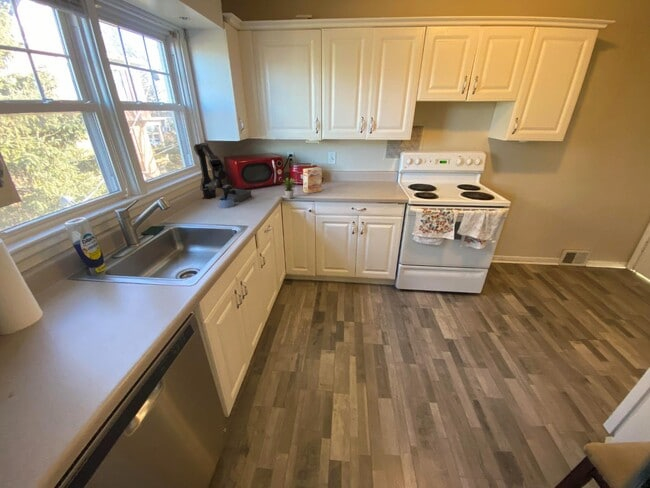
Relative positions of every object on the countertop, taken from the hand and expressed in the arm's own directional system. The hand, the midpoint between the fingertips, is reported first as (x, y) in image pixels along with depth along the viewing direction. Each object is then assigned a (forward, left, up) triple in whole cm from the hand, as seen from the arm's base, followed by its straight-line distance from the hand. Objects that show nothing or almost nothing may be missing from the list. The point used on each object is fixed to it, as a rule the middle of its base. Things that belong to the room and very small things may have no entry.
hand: (220, 198), depth 200 cm
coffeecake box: (+49, +59, -5) cm, 77 cm away
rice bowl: (+5, 0, -4) cm, 7 cm away
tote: (+1, +19, -4) cm, 19 cm away
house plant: (+39, +33, -5) cm, 51 cm away
